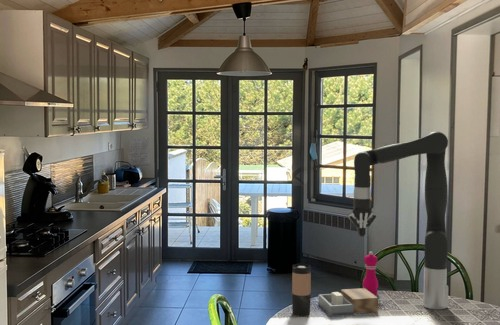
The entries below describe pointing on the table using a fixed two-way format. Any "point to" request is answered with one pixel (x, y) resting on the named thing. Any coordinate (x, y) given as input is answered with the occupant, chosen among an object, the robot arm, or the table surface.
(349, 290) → the ledge
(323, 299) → the box
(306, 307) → the travel mug
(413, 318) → the table surface
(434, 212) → the robot arm
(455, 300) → the table surface
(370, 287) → the pepper mill
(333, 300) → the cream square block
